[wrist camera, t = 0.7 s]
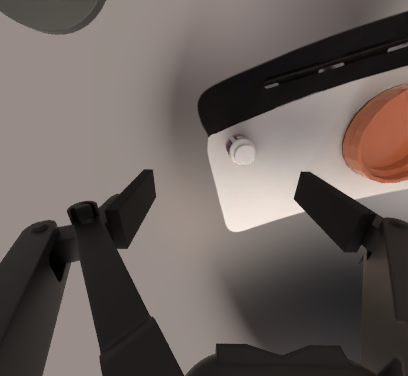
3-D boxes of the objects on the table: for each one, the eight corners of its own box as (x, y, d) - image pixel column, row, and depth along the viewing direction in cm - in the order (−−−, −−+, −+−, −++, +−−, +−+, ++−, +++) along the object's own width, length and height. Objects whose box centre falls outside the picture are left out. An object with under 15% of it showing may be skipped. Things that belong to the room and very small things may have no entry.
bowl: (340, 105, 33) (359, 105, 29) (446, 68, 30) (484, 62, 26) (341, 184, 40) (356, 193, 36) (427, 160, 37) (454, 166, 33)
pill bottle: (235, 160, 37) (242, 174, 30) (221, 144, 36) (225, 154, 28) (252, 145, 36) (265, 156, 28) (238, 128, 35) (248, 135, 27)
